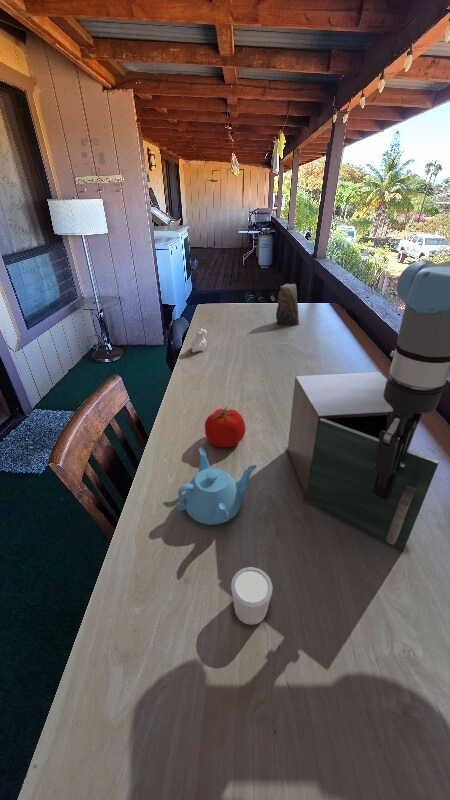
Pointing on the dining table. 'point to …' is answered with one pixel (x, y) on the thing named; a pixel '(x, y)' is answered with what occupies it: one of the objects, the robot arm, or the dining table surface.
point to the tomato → (224, 427)
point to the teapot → (213, 493)
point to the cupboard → (334, 411)
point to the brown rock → (287, 305)
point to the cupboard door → (366, 483)
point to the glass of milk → (251, 594)
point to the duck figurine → (199, 341)
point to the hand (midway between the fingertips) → (380, 494)
